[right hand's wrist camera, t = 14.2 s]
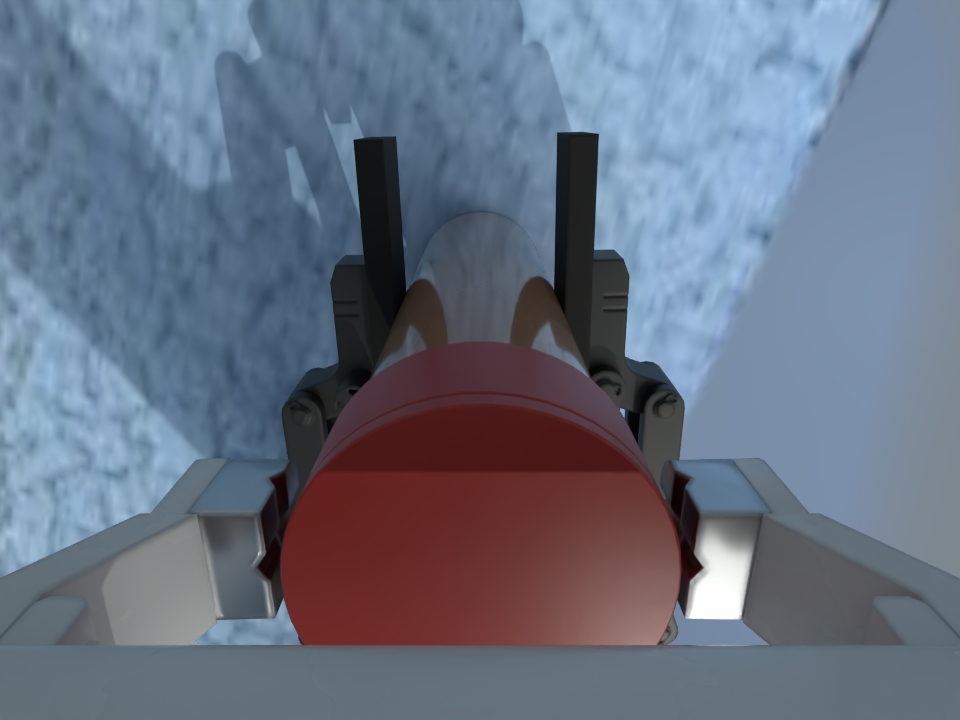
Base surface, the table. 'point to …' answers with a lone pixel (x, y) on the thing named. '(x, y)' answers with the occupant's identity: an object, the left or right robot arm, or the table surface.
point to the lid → (480, 512)
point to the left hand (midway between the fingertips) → (476, 137)
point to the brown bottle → (480, 294)
